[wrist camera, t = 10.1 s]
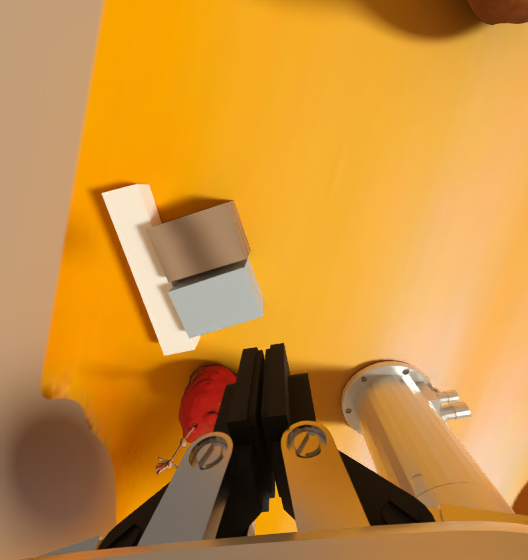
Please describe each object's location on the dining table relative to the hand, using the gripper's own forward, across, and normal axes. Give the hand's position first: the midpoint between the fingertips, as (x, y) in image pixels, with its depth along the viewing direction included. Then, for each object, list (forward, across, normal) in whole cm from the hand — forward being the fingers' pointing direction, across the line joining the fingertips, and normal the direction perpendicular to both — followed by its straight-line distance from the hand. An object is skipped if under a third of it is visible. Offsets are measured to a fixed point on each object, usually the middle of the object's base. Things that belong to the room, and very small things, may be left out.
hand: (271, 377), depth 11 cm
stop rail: (+24, +14, -1) cm, 27 cm away
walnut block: (+24, +8, -4) cm, 25 cm away
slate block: (+24, +7, +3) cm, 25 cm away
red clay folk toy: (+24, +12, +16) cm, 31 cm away
